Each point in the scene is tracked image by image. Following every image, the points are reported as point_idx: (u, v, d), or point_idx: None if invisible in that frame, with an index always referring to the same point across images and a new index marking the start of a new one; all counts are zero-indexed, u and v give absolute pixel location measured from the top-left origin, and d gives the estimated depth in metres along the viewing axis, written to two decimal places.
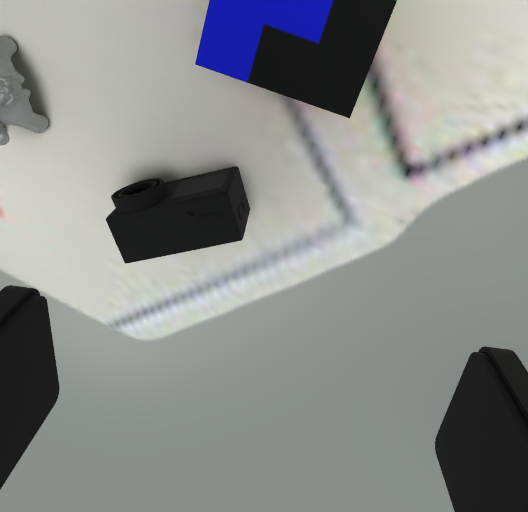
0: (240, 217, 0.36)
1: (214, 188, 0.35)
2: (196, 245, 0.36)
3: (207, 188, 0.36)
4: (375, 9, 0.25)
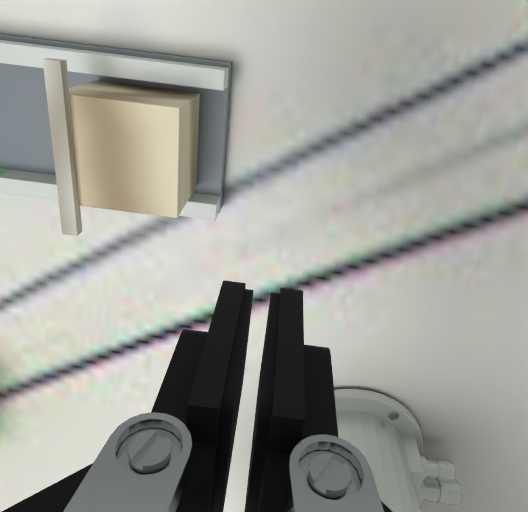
0: None
1: None
2: None
3: None
4: None
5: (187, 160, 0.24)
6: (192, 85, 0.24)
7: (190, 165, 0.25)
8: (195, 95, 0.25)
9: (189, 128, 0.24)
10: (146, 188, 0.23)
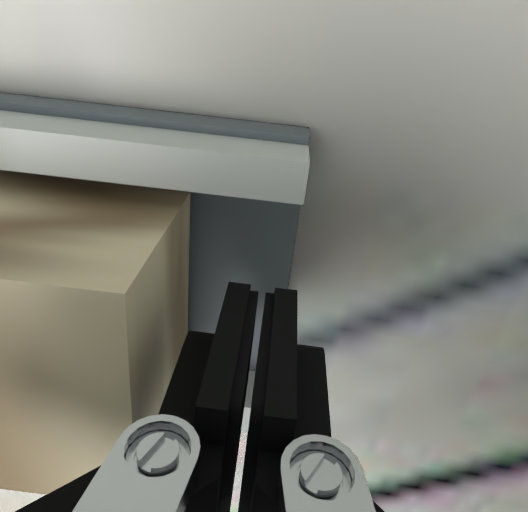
0: None
1: None
2: None
3: None
4: None
5: (162, 354, 0.11)
6: (232, 194, 0.10)
7: (171, 348, 0.12)
8: (179, 203, 0.11)
9: (165, 288, 0.10)
10: (59, 454, 0.09)
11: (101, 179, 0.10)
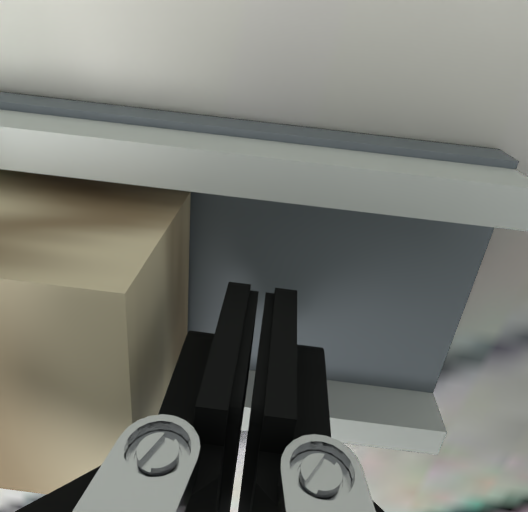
0: None
1: None
2: None
3: None
4: None
5: (162, 354, 0.11)
6: (458, 220, 0.10)
7: (171, 348, 0.12)
8: (180, 203, 0.11)
9: (165, 288, 0.10)
10: (58, 454, 0.09)
11: (325, 205, 0.10)
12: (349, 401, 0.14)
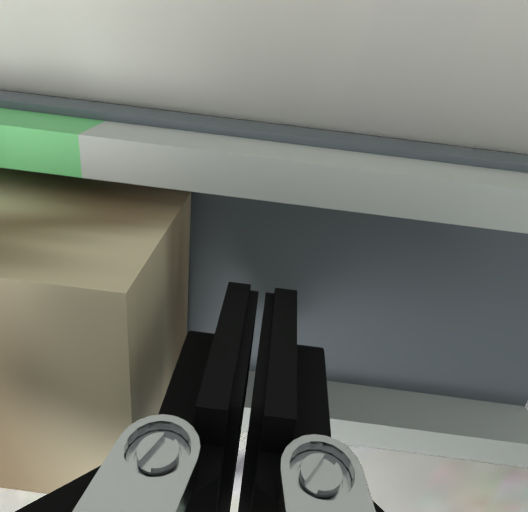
0: None
1: None
2: None
3: None
4: None
5: (162, 353, 0.11)
6: None
7: (170, 348, 0.12)
8: (180, 202, 0.11)
9: (165, 288, 0.10)
10: (57, 453, 0.09)
11: (459, 223, 0.10)
12: (445, 414, 0.14)
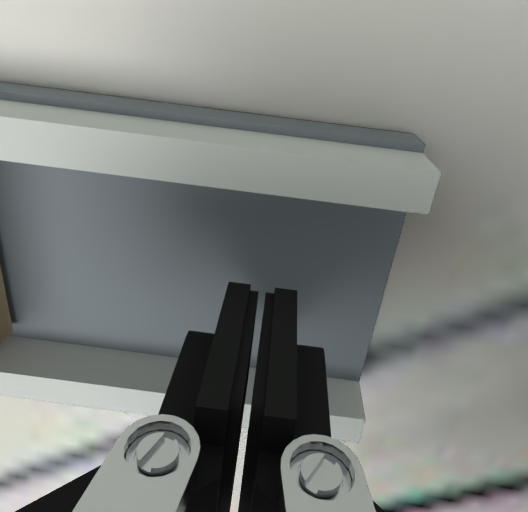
0: None
1: None
2: None
3: None
4: None
5: None
6: (355, 202, 0.10)
7: None
8: None
9: None
10: None
11: (221, 186, 0.10)
12: None
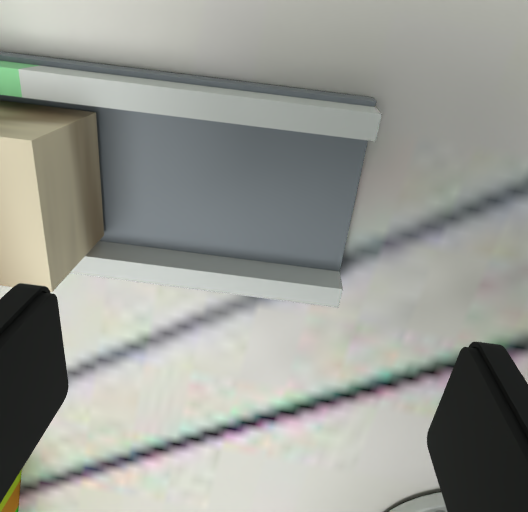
0: None
1: None
2: None
3: None
4: None
5: (72, 207, 0.17)
6: (332, 134, 0.17)
7: (82, 212, 0.18)
8: (85, 115, 0.18)
9: (71, 163, 0.17)
10: (3, 253, 0.16)
11: (251, 124, 0.17)
12: (279, 272, 0.21)
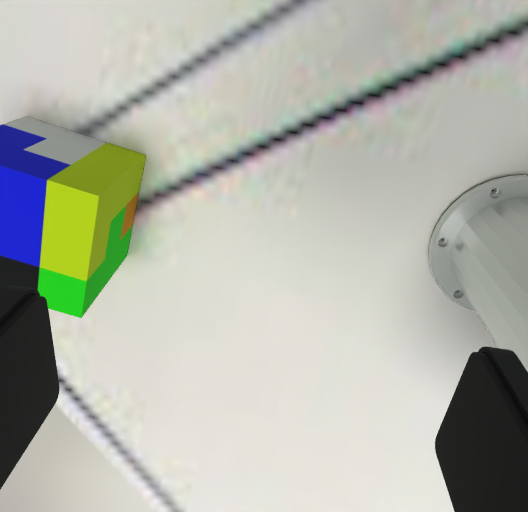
0: None
1: None
2: None
3: None
4: None
5: None
6: None
7: None
8: None
9: None
10: None
11: None
12: None
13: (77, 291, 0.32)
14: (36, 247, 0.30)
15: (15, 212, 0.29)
